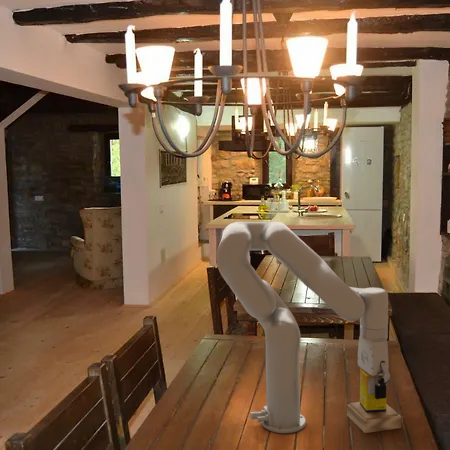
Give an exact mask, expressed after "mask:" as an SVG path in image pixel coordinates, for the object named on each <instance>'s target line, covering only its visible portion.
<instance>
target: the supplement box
mask: <svg viewBox="0 0 450 450" xmlns="http://www.w3.org/2000/svg"><path fill="white" fill-rule="evenodd" d="M380 373H381V372H378V374H380ZM378 377H379V380H380V379H381V378H382V376H378ZM375 385H377V384H376V380H375V376H371V375H370V374H368V373H367V372H366V371H364V370H363V369H362V368H360V367H359V402H360V405H361V406H362V408H363V409H364V410H365V412H366V413H368V412H384V411H386V404H387V397H386V398H383V399H376V398H375ZM387 385H388V384H387ZM387 385H386V393H387V388H388V387H387Z"/></svg>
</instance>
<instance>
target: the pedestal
mask: <svg viewBox="0 0 450 450" xmlns="http://www.w3.org/2000/svg"><path fill="white" fill-rule="evenodd" d="M346 407H347V408H346V416H347V417H348V418H349V419H350V420H351V421H352V422H353V423H354V424H355V425H356V426H357V427H358V428H359V429H360V430H361V431H362V432H363V433H364V434H367V433H375V432H382V431H389V430H390V431H391V430H396V429H402V416H401V415H400V414H399V413H398V412H397V411H395V409H393V408H392V407H391V406H389V404H387V403H386V411H384V412H368V413H366V412H365V410H364V409H363V408H362V406H361V405H360V401H358V402H357V401H356V402H349V403H348V404H347V405H346Z"/></svg>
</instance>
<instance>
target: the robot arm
mask: <svg viewBox="0 0 450 450" xmlns="http://www.w3.org/2000/svg"><path fill="white" fill-rule="evenodd" d="M250 251H268V253H270V254H271V256H273V257H274V258H275V259H276V260H277V261H279V263H281V264H282V265H283V266H284V267H285V268H286V269H288V270H289V272H291V273H292V274H293V275H294V276H295V277H296V278H297V279H298V280H300V282H301V283H302V284H303V285H304V286H306V287H307V288H308V289H309V290H310V291H312V292H313V293H314V294H315V295H317V296H318V298H320V299H321V301H323V302H324V303H325V304H326V305H327V306H328V307H330V309H331V310H332V311H333V312H335V313H336V314H337V315H338V316H339V317H340V318H341V319H342V320H345V321H348V322H356V321H358V320H359V337H358V345H357V366H358V367H359V369H360V368H362V369H363V370H364V371H366V372H367V373H368V374H370V375H371V376H375V380H376V384H377V385H375V398H376V399H383V398H386V399H387V392H386V385H388V383H389V380H390V378H391V373H390V372H389V348H388V341H387V340H388V337H389V336H388V335H389V334H388V333H389V331H388V329H389V326H388V325H389V294H388V292H387V290H386V289H384V288H381V287H366V288H361V287H354V286H353V287H352V286H349V285H348V284H347V283H346V282H344V281H343V280H342V279H341V278H340V277H339V276H338V275H337V274H336V273H335V271H333V269H331V267H330V266H329V265H328V264H327V262H326V261H325V260H324V259H323V258H322V257H321V256H320V255H319V254H318V253H317V252H315V251H314V250H313V249H312V248H311V247H310V246H309V245H308V244H306V243H305V242H304V241H303V240H302V239H301V238H300V237H299V236H298V235H297V234H296V233H295V232H294V231H292V230H291V229H290V228H289V227H288V226H287V225H286V224H285V223H283V222H279V221H234V222H231V223H229V224H228V225H227V226H226V227H225V228H224V229H223V231H222V237H221V240H220V241H219V245H218V247H217V251H216V256H215V257H216V265H217V269H218V271H219V274H220V276H221V277H222V278H223V280H224V281H225V282H226V284H227V285H228V286H229V288H230V290H231V292H233V294H234V295H235V297H236V298H237V300H238V301H239V302H240V303H241V305H242V306H243V308H244V310H245V312H246V313H247V314H248V315H250V316H251V317H252V318H255V319H256V320H257V321H258V322H259V324H260V325H261V327H262V328H263V330H264V336H265V381H266V382H265V383H266V385H265V386H266V388H265V389H266V396H265V397H266V405H264V406H263V409H261V410H260V411H253V412H251V411H250V414H249V417H250V419H251V420H257V421H256V422H257V423H260V422H261V425H262V427H263V428H265V430H267V431H270V432H272V433H276V434H292V433H296V432H299V431H301V430H303V429H304V428H305V427H306V423H307V421H306V418H305V416H304V415H303V414H301V386H300V385H301V382H300V379H301V378H300V377H301V376H300V371H301V370H300V369H301V368H300V364H301V363H300V362H301V361H300V354H301V353H300V351H301V341H302V340H301V331H300V328H299V324H298V323H297V320H296V318H295V316H294V315H293V313H292V312H291V309H290V308H289V307H288V306H287V304H286V303H285V302H284V301H283V299H282V298H281V296H280V295H279V294H278V293H277V291H276V290H275V288H274V287H273V286H272V284H270V282H268V281H266V280H264V279H262V278H261V277H260V276H259V274H258V273H257V271H256V270H255V268H254V267H253V266H252V264H251V263H250V261H249V257H248V254H249V252H250ZM378 372H381V373H380V374H378ZM378 376H382V378H381V379H380V380H379V377H378Z"/></svg>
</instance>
